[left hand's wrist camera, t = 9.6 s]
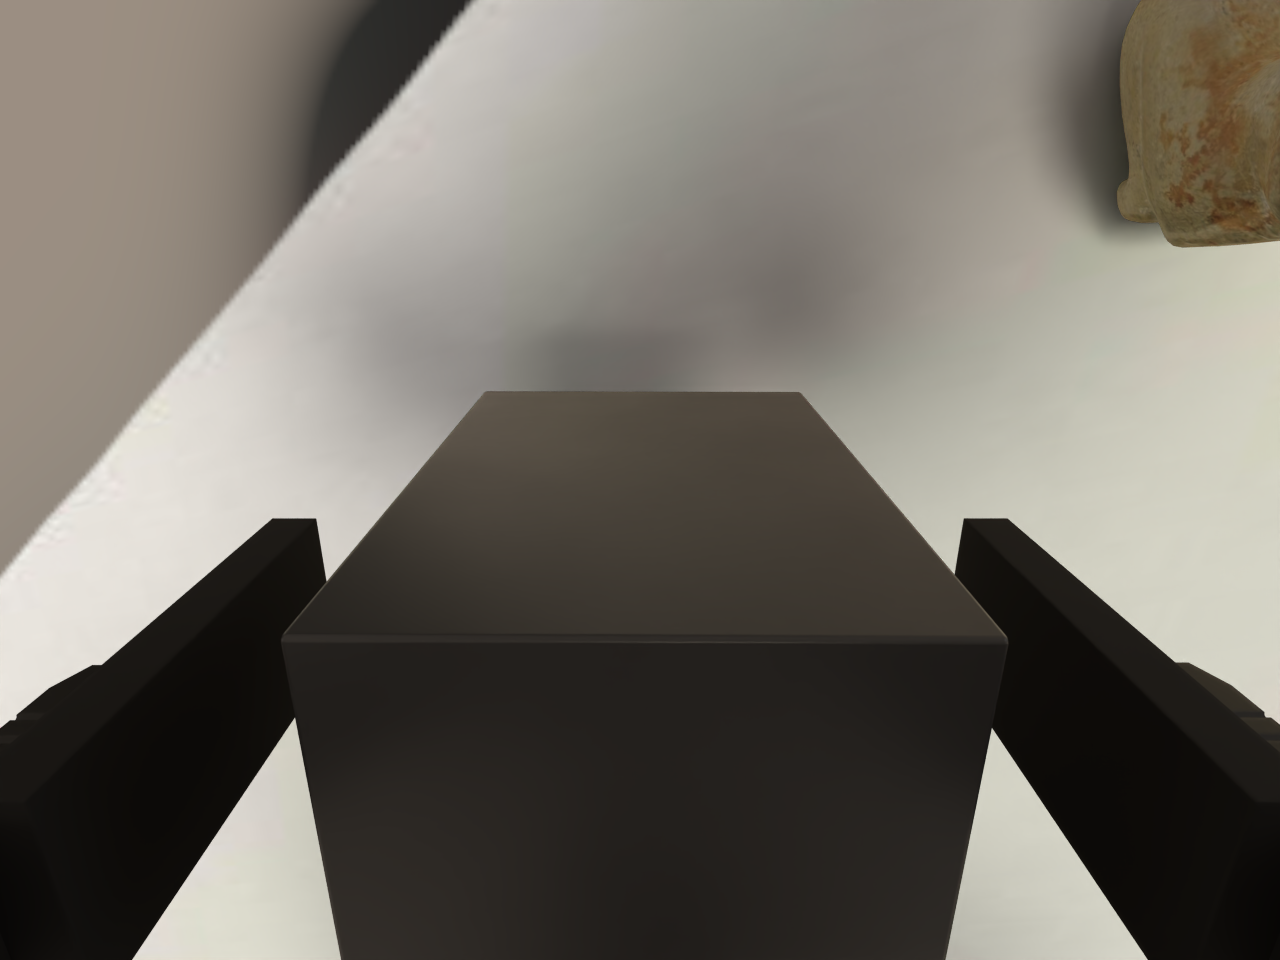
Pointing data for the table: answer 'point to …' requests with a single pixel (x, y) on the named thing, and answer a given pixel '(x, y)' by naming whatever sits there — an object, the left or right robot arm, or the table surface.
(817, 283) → the table surface
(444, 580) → the bar
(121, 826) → the left robot arm
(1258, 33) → the sculpture
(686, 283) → the table surface
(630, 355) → the table surface
